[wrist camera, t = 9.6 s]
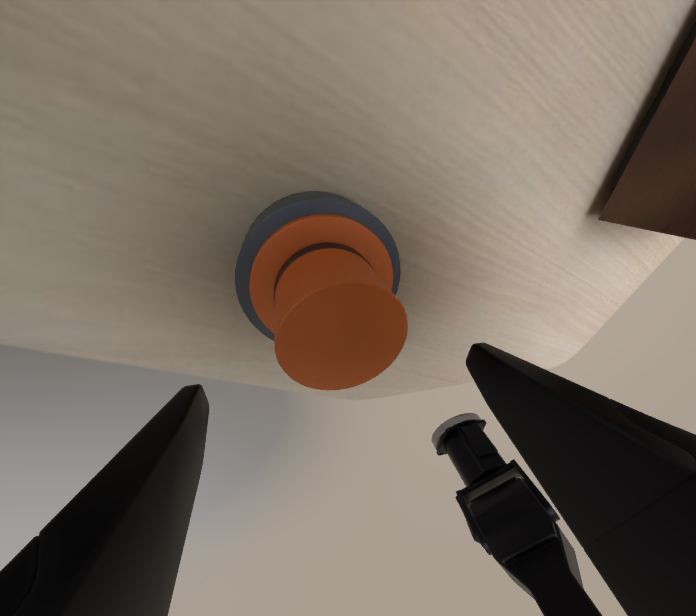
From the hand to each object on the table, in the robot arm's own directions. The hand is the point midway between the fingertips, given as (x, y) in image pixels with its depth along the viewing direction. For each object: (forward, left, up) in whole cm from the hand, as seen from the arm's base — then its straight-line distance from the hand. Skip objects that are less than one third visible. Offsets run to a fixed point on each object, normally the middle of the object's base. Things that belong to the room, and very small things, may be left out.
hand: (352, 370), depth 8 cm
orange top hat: (0, 0, -7) cm, 7 cm away
